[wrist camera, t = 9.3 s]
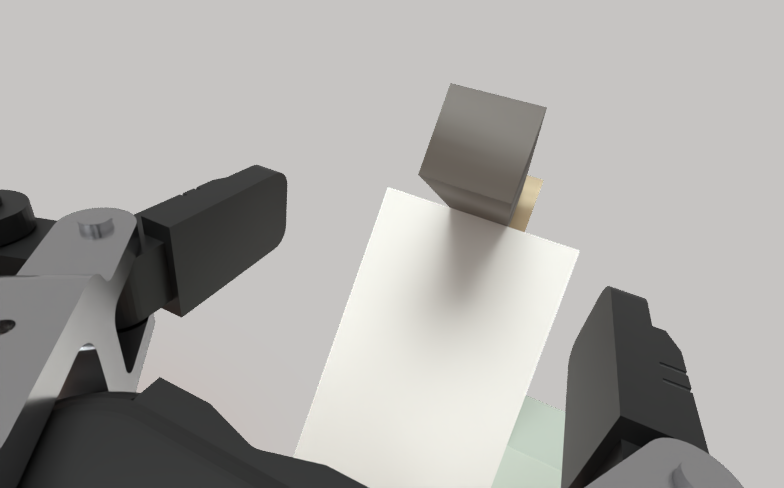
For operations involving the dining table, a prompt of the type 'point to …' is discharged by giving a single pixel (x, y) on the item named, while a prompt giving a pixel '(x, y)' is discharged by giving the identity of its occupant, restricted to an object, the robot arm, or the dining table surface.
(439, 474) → the riser
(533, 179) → the block
